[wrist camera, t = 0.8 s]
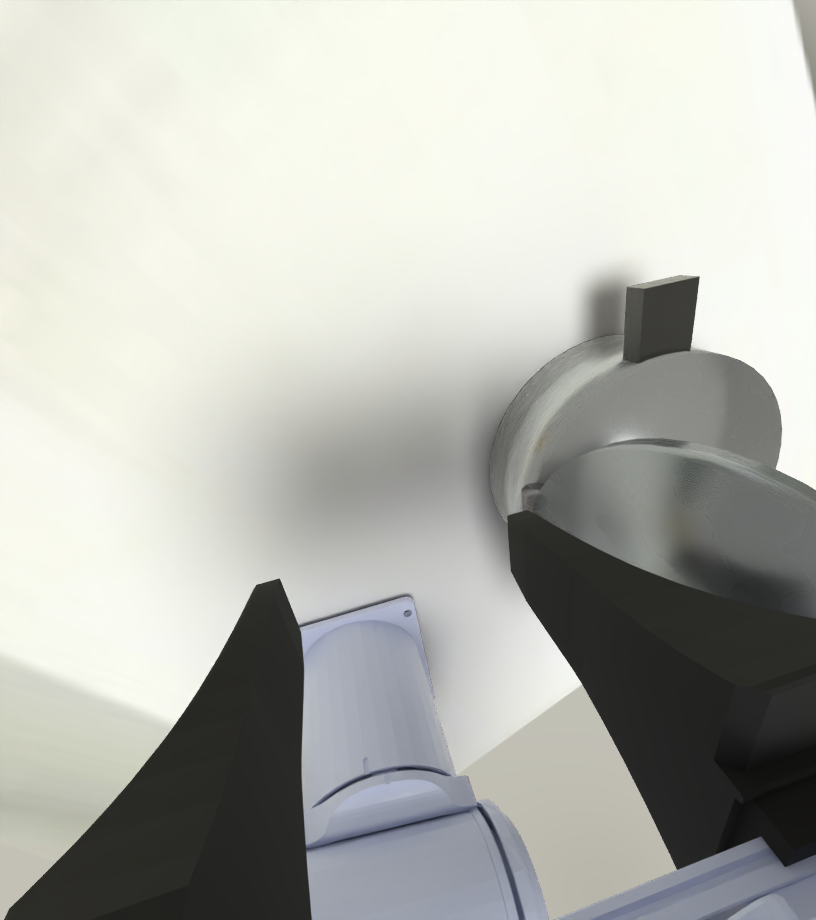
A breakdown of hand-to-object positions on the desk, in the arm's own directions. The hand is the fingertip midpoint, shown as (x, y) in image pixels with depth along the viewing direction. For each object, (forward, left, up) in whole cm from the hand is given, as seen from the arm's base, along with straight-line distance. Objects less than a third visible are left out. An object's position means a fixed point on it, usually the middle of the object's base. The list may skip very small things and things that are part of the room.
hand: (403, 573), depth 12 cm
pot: (-4, -13, -10) cm, 17 cm away
